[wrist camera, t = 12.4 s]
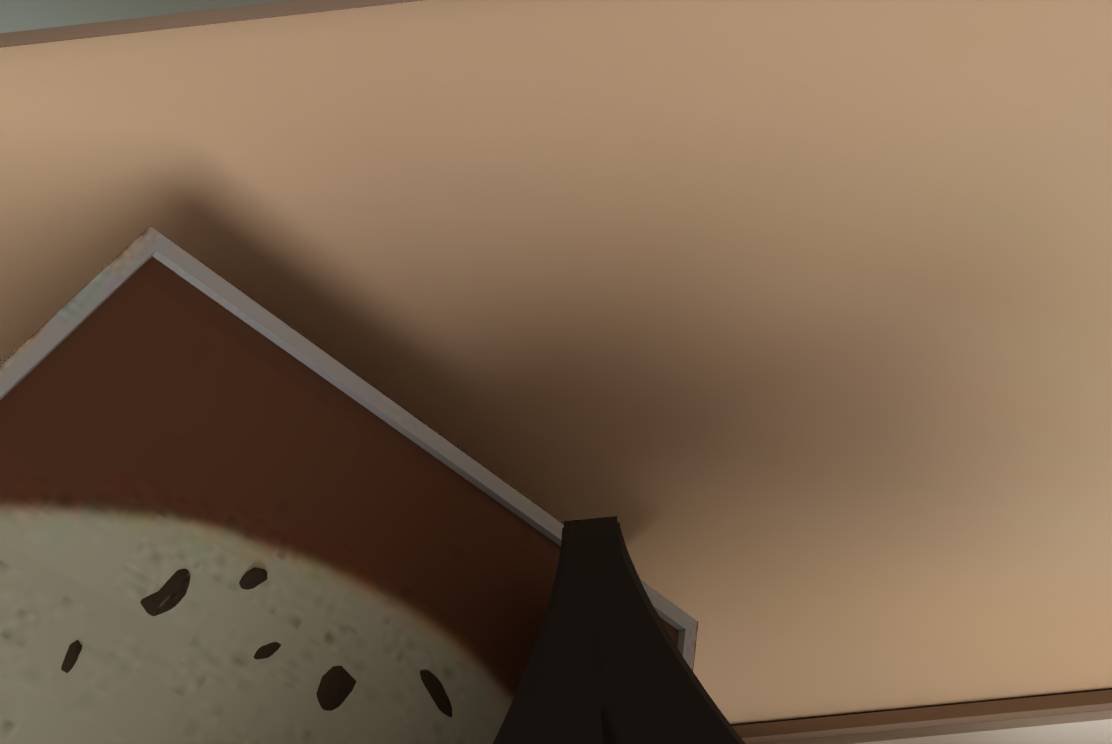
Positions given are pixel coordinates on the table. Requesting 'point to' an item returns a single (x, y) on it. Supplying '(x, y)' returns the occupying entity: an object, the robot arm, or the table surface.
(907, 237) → the table surface
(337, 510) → the food container
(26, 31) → the game lane
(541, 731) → the robot arm
